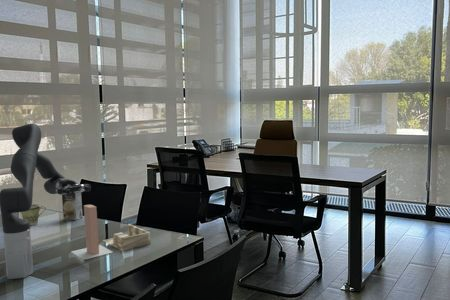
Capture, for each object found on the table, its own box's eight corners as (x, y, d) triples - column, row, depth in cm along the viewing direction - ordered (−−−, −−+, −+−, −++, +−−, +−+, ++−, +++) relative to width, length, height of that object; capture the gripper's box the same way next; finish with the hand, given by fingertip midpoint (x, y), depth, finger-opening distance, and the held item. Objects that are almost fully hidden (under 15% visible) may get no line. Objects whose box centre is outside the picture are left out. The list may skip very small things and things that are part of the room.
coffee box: (62, 219, 246) (60, 192, 245) (69, 217, 253) (67, 190, 251) (76, 220, 244) (74, 192, 242) (83, 217, 250) (81, 190, 249)
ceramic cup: (19, 227, 233) (18, 209, 233) (22, 222, 243) (21, 205, 242) (45, 224, 237) (44, 206, 236) (47, 220, 247) (46, 203, 246)
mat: (113, 255, 182) (113, 252, 182) (83, 263, 174) (83, 259, 174) (100, 248, 193) (99, 244, 193) (71, 254, 185) (70, 251, 185)
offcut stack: (129, 245, 190) (129, 235, 189) (121, 247, 187) (120, 237, 187) (121, 241, 196) (120, 232, 196) (113, 243, 193) (112, 233, 193)
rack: (150, 246, 193) (150, 232, 192) (121, 253, 184) (121, 239, 183) (130, 237, 208) (129, 223, 207) (102, 243, 199) (101, 229, 199)
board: (99, 253, 181) (96, 206, 179) (92, 255, 179) (89, 207, 177) (93, 250, 186) (90, 204, 184) (86, 251, 184) (83, 205, 182)
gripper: (50, 180, 196) (62, 184, 184) (81, 177, 205) (94, 180, 193) (51, 197, 197) (63, 201, 184) (82, 192, 206) (95, 196, 193)
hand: (79, 190), depth 189 cm, fingers open, 8 cm apart
